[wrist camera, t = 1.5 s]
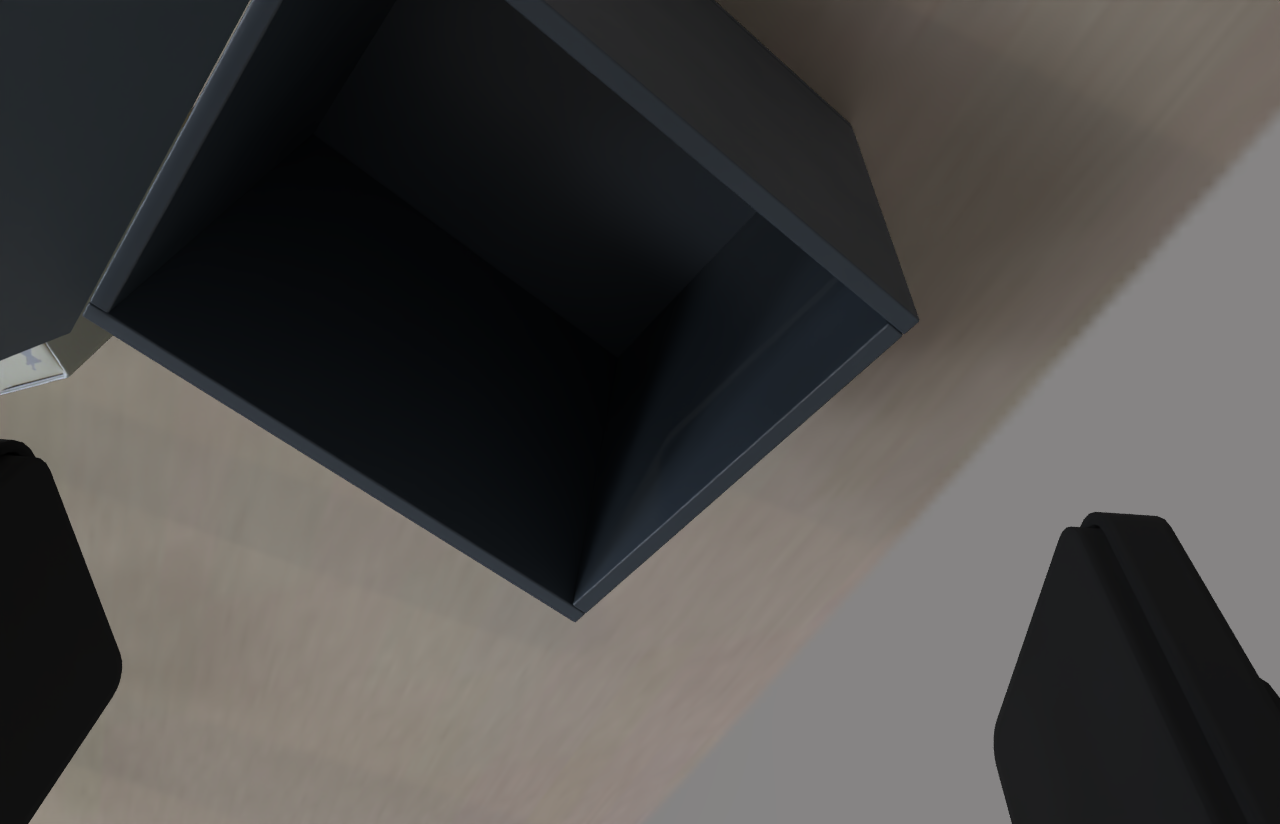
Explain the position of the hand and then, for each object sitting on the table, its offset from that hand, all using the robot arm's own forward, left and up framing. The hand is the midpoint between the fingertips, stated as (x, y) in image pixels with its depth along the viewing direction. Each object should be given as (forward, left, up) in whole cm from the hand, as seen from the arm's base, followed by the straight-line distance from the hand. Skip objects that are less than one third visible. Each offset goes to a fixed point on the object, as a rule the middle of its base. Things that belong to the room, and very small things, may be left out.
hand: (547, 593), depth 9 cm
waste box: (0, -5, -28) cm, 28 cm away
